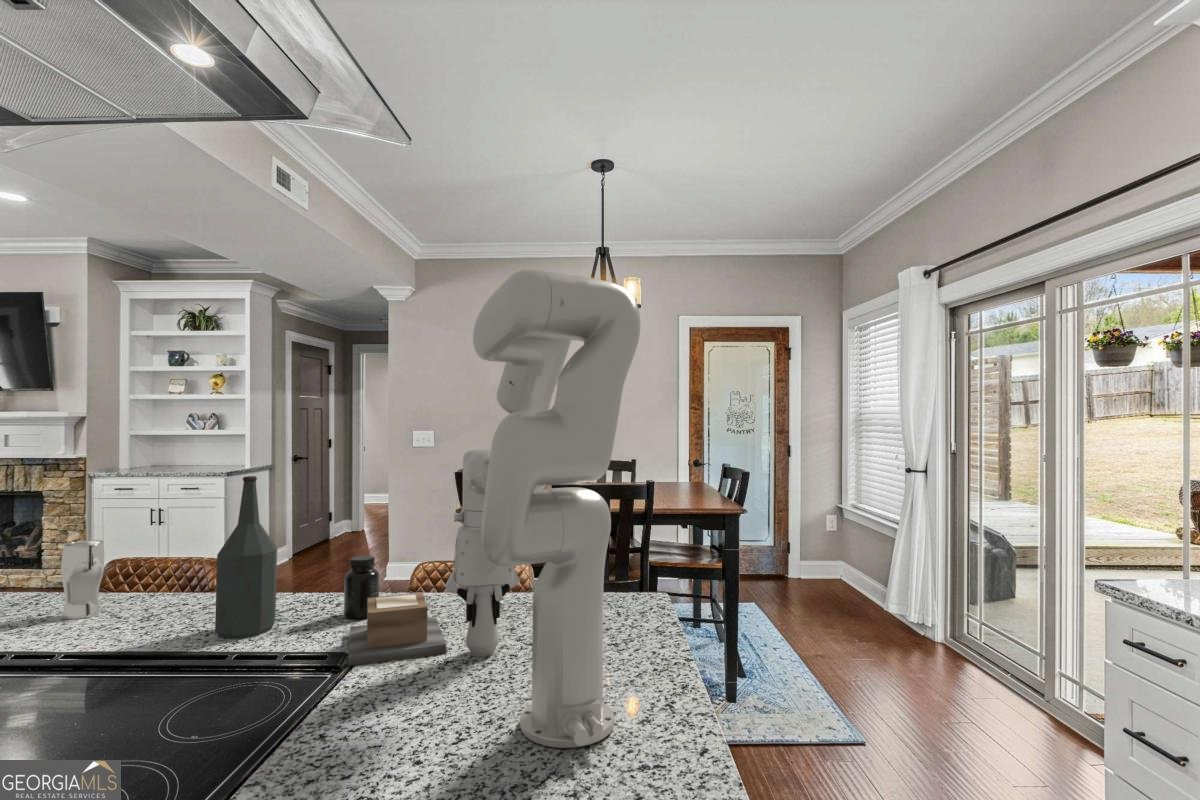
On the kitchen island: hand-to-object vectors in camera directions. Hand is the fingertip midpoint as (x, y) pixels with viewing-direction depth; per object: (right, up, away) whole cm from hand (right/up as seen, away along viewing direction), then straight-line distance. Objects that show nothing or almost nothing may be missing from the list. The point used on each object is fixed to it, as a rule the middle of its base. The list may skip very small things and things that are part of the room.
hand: (483, 622), depth 107 cm
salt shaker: (0, -5, 0) cm, 5 cm away
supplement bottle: (-30, -6, +21) cm, 37 cm away
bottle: (-49, -6, +11) cm, 50 cm away
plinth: (-17, -5, +4) cm, 18 cm away
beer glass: (-89, -6, +20) cm, 91 cm away
